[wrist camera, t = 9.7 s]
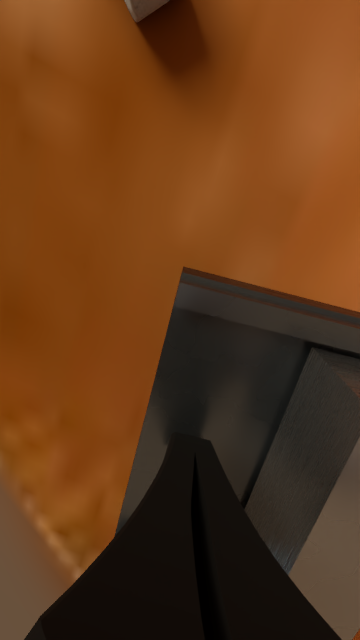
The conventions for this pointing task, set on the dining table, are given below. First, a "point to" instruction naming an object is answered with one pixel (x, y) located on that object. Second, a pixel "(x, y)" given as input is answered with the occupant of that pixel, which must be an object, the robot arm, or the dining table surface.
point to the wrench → (143, 7)
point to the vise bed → (231, 374)
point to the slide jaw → (317, 490)
